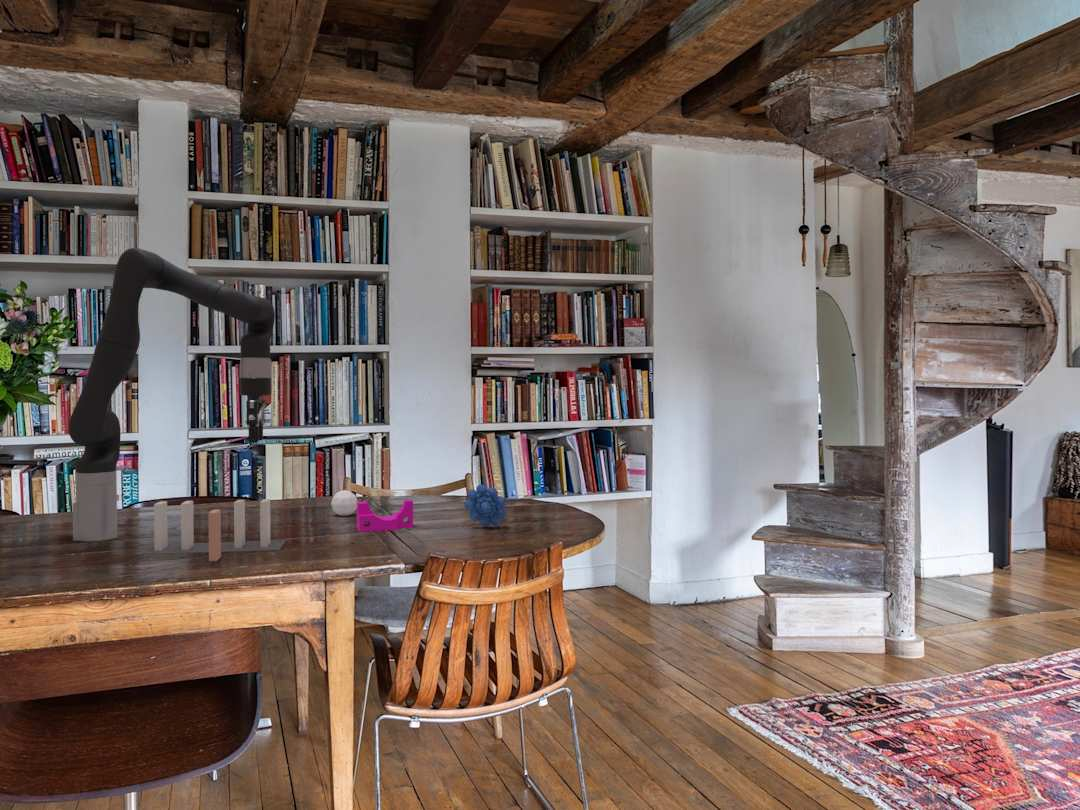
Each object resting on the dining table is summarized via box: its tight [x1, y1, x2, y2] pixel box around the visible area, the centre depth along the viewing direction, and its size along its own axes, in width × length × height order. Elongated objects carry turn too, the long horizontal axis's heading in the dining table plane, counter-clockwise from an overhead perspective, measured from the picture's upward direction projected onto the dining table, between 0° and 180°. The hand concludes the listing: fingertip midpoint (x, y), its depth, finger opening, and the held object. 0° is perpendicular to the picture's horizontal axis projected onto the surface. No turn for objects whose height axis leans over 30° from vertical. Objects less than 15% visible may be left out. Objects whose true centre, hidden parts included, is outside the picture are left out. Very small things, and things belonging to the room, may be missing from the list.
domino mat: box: [135, 539, 287, 556], centre depth 198 cm, size 32×12×1 cm, turn 100°
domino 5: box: [259, 498, 272, 547], centre depth 200 cm, size 2×5×11 cm, turn 10°
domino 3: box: [207, 508, 222, 562], centre depth 186 cm, size 2×5×11 cm, turn 10°
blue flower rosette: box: [464, 484, 507, 528], centre depth 227 cm, size 12×7×12 cm, turn 97°
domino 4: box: [233, 499, 246, 548], centre depth 199 cm, size 2×5×11 cm, turn 10°
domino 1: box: [153, 500, 169, 551], centre depth 196 cm, size 2×5×11 cm, turn 10°
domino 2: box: [180, 500, 195, 550], centre depth 197 cm, size 2×5×11 cm, turn 10°
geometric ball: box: [330, 489, 359, 517], centre depth 247 cm, size 8×8×8 cm
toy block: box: [356, 499, 414, 533], centre depth 227 cm, size 15×6×8 cm, turn 109°
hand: (255, 441), depth 205 cm, fingers open, 8 cm apart
